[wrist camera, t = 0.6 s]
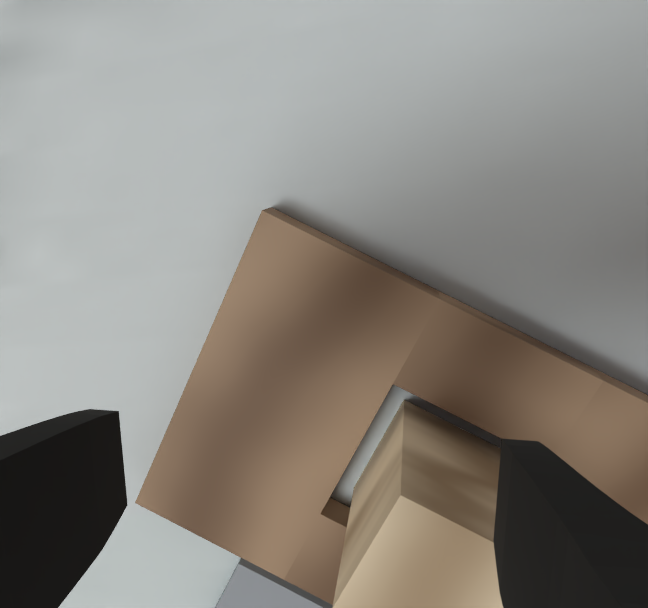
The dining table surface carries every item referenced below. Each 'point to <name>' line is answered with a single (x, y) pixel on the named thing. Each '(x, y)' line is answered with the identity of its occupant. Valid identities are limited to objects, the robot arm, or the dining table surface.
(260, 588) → the slate rubber mat
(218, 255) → the dining table surface
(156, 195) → the dining table surface
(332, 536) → the walnut pocket board
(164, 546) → the dining table surface
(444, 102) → the dining table surface
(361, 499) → the beech block
